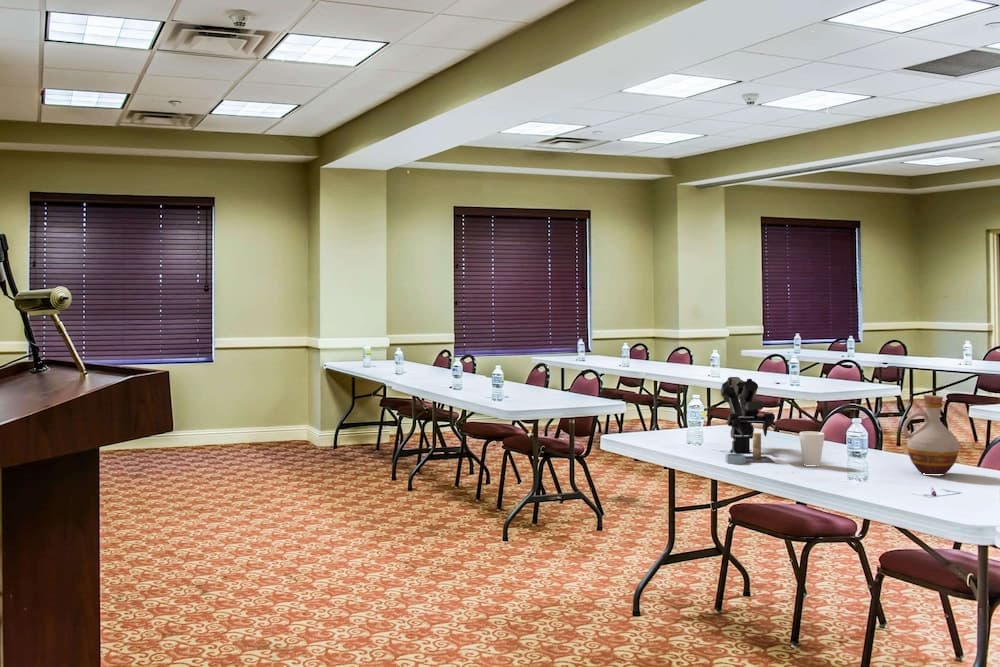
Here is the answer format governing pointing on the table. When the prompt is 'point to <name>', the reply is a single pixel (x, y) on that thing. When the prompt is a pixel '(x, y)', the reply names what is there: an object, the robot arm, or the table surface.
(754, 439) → the dowel
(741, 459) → the gray square block
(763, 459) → the tray
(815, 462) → the foam cup
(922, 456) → the jug
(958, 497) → the table surface
